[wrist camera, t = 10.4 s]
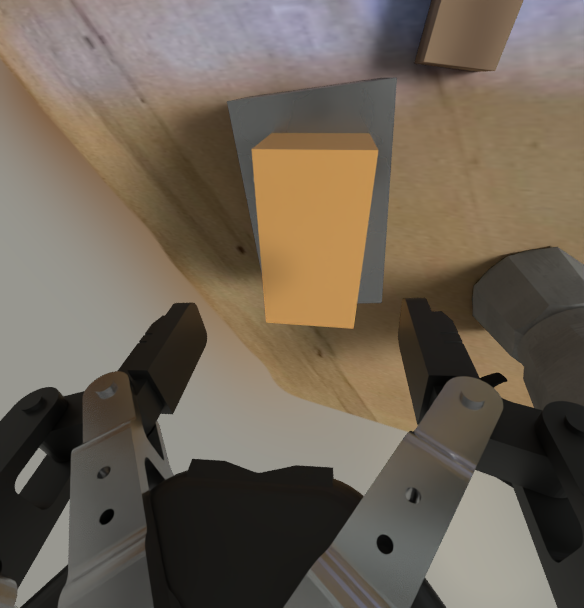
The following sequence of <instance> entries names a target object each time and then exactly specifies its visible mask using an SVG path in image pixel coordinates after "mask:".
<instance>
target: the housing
mask: <svg viewBox="0 0 584 608" xmlns="http://www.w3.org/2000/svg"><path fill="white" fill-rule="evenodd" d="M377 157H378V148H377V147H376V145H375V143H374V141H373V139H372V137H371V135H370V133H271V134H270V135H269V136H267V137H266V138H265V139H264V140H262V141H261V142H260V143H259V144H257V145H256V146H255V147H254V148H252V160H253V172H254V184H255V196H256V208H257V220H258V232H259V244H260V255H261V267H262V279H263V291H264V303H265V315H266V323H281V324H295V325H309V326H323V327H337V328H351V329H354V322H355V315H356V307H357V300H358V293H359V286H360V279H361V272H362V264H363V257H364V250H365V243H366V236H367V229H368V221H369V214H370V207H371V200H372V193H373V186H374V179H375V171H376V164H377Z"/></svg>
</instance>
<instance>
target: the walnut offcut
mask: <svg viewBox="0 0 584 608" xmlns="http://www.w3.org/2000/svg"><path fill="white" fill-rule="evenodd" d="M522 3H523V0H431V4H430V8H429V11H428V15H427V19H426V22H425V26H424V30H423V33H422V37H421V41H420V44H419V48H418V52H417V55H416V59H415V63H414V64H421V65H429V66H437V67H445V68H452V69H460V70H468V71H476V72H481V71H495V70H496V67H497V65H498V62H499V60H500V57H501V55H502V52H503V50H504V47H505V45H506V42H507V40H508V37H509V35H510V33H511V30H512V28H513V25H514V23H515V20H516V18H517V15H518V13H519V10H520V8H521V5H522Z"/></svg>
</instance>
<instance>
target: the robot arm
mask: <svg viewBox="0 0 584 608" xmlns="http://www.w3.org/2000/svg"><path fill="white" fill-rule="evenodd" d="M398 340H399V347H400V352H401V356H402V360H403V365H404V369H405V373H406V378H407V382H408V386H409V391H410V395H411V399H412V403H413V408H414V412H415V416H416V421H417V425H418V426H417V428H416V429H415V430H414V431H413V432H412V431H409V432H408V433H407V434H406V435H405V437H404V438H403V440H402V441H401V443H400V444H399V445H398V447H397V448H396V450H395V451H394V453H393V454H392V456H391V457H390V459H389V460H388V462H387V463H386V465H385V466H384V467H383V469H382V470H381V472H380V473H379V475H378V476H377V478H376V479H375V481H374V483H373V484H372V485H371V487H370V488H369V490H368V491H367V493H366V494H365V496H363V495H362V494H360V493H359V492H358V491H356V490H355V489H354V488H352V487H351V486H349V485H347V484H345V483H343V482H341V481H338V480H336V479H334V478H333V468H329V467H313V466H291V467H287V468H282V469H277V470H272V471H267V472H263V473H256V472H253V471H250V470H247V469H245V468H242V467H240V466H237V465H234V464H232V463H229V462H226V461H216V460H201V459H192V461H191V464H190V466H189V469H188V471H185V472H182V473H178V474H176V475H173V473H172V470H171V468H170V465H169V461H168V457H167V453H166V449H165V445H164V441H163V437H162V433H161V429H160V425H159V423H158V421H157V419H158V417H159V415H160V414H173V413H174V411H175V409H176V406H177V405H178V403H179V400H180V398H181V396H182V394H183V392H184V390H185V388H186V386H187V384H188V382H189V379H190V377H191V375H192V373H193V371H194V369H195V367H196V365H197V362H198V361H199V359H200V357H201V354H202V352H203V350H204V348H205V346H206V343H207V333H206V329H205V327H204V324H203V321H202V318H201V316H200V313H199V311H198V308H197V306H196V304H195V303H175V304H173V305H172V307H171V308H170V310H169V311H168V312H167V314H166V315H165V316H162V317H161V318H159V319H158V320H157V321H155V322H154V323H153V324H152V325H151V326H150V328H149V329H148V330H147V332H146V333H145V335H144V336H143V337H142V338H141V340H140V341H139V342H140V343H138V344H137V345H136V347H135V348H134V349H133V351H132V352H131V353H130V355H129V356H128V357H127V359H126V360H125V362H124V363H123V364H122V366H121V367H120V368H119V370H118V371H115V372H110V373H107V374H105V375H103V376H101V377H99V378H97V379H96V380H94V382H92V383H91V384H90V385H89V386H88V387H87V389H86V390H85V391H84V392H80V393H76V394H72V395H68V396H62V394H61V393H60V392H59V391H58V390H57V389H56V388H53V387H46V388H41V389H39V390H36V391H34V392H32V393H30V394H28V395H27V396H25V397H24V398H22V399H21V400H20V401H18V403H17V404H16V405H14V406H13V408H12V409H11V410H10V411H9V412H8V413H7V414H6V416H4V418H3V419H2V420H1V421H0V608H18V607H17V606H14V605H15V602H16V598H17V590H18V587H19V586H20V584H21V582H22V581H23V579H24V577H25V575H26V574H27V572H28V570H29V568H30V567H31V565H32V563H33V561H34V560H35V558H36V556H37V555H38V553H39V551H40V549H41V548H42V546H43V544H44V542H45V541H46V539H47V537H48V535H49V534H50V532H51V530H52V528H53V527H54V525H55V523H56V521H57V520H58V518H59V516H60V515H61V513H62V511H63V509H64V508H65V506H66V504H67V502H68V501H69V499H70V518H69V520H70V521H69V558H68V559H69V560H68V565H67V566H66V567H65V568H63V569H62V570H61V571H60V572H59V573H58V574H57V575H56V576H55V577H54V578H52V579H51V580H50V581H49V582H48V583H47V584H46V585H45V586H44V587H42V588H41V589H40V590H39V591H38V592H37V593H36V594H35V595H34V596H33V597H31V598H30V599H29V600H28V601H27V602H26V603H25V604H24V605H23V606H21V607H20V608H446V606H445V605H444V604H443V602H442V601H441V599H440V598H439V597H438V595H437V594H436V592H435V591H434V590H433V588H432V587H431V585H430V584H429V583H428V581H427V580H426V578H425V575H426V573H427V571H428V569H429V567H430V565H431V563H432V560H433V558H434V556H435V554H436V552H437V550H438V548H439V546H440V543H441V541H442V539H443V537H444V535H445V533H446V531H447V529H448V527H449V524H450V522H451V520H452V518H453V516H454V514H455V512H456V509H457V507H458V505H459V503H460V501H461V499H462V497H463V495H464V492H465V490H466V488H467V486H468V483H469V482H470V480H471V477H472V475H473V473H474V470H477V471H480V472H483V473H486V474H489V475H491V476H494V477H497V478H500V479H502V480H505V481H508V482H511V483H512V485H513V488H514V491H515V493H516V496H517V499H518V501H519V504H520V507H521V509H522V512H523V515H524V518H525V520H526V523H527V526H528V529H529V531H530V534H531V537H532V540H533V542H534V545H535V547H536V550H537V553H538V556H539V559H540V561H541V564H542V567H543V569H544V572H545V575H546V578H547V580H548V583H549V585H550V588H551V591H552V594H553V597H554V599H555V602H556V605H557V607H558V608H584V406H582V405H579V404H576V403H572V402H567V401H555V402H551V403H549V404H547V405H546V406H545V407H544V409H543V410H539V409H535V408H532V407H528V406H524V405H521V404H517V403H513V402H510V401H508V400H505V399H503V398H501V396H500V395H499V393H498V392H497V391H496V390H495V389H494V388H493V387H492V386H490V385H489V384H487V383H486V382H484V381H482V380H480V378H479V376H478V374H477V371H476V369H475V367H474V365H473V363H472V361H471V359H470V357H469V355H468V352H467V350H466V348H465V346H464V344H462V340H461V338H460V335H459V334H458V331H457V329H456V327H455V325H454V323H453V321H452V320H451V319H450V318H449V317H448V316H446V315H445V314H444V313H443V312H442V311H438V312H432V311H431V309H430V306H429V304H428V302H427V299H426V298H403V300H402V306H401V314H400V322H399V330H398ZM38 448H40V449H42V450H43V451H44V452H45V453H46V454H47V455H46V457H45V458H44V459H43V461H42V462H41V464H40V465H39V467H38V468H37V469H36V471H35V472H34V474H33V475H32V477H31V478H30V479H29V481H28V482H27V484H26V485H25V486H24V488H23V489H22V491H21V492H20V494H17V493H16V491H15V481H16V479H17V477H18V475H19V474H20V472H21V471H22V469H23V468H24V467H25V465H26V464H27V463H28V461H29V460H30V458H31V457H32V456H33V455H34V453H35V451H36V450H37V449H38Z"/></svg>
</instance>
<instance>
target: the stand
mask: <svg viewBox="0 0 584 608" xmlns="http://www.w3.org/2000/svg"><path fill="white" fill-rule="evenodd" d="M396 83H397V78H378V79H371V80H364V81H357V82H350V83H343V84H336V85H329V86H322V87H314V88H307V89H300V90H293V91H286V92H279V93H272V94H265V95H258V96H251V97H246V98H241V99H237V100H232V101H227V104H228V109H229V114H230V119H231V124H232V129H233V134H234V139H235V144H236V149H237V154H238V159H239V164H240V169H241V174H242V179H243V184H244V188H245V193H246V198H247V203H248V208H249V213H250V218H251V223H252V228H253V233H254V238H255V243H256V248H257V253H258V258H259V263H260V268H261V273H262V267H261V255H260V244H259V232H258V220H257V208H256V196H255V184H254V172H253V160H252V148H254V147H255V146H256V145H257V144H259V143H260V142H261V141H262V140H264V139H265V138H266V137H267V136H269V135H270V134H271V133H370V135H371V137H372V139H373V141H374V143H375V145H376V147H377V148H378V157H377V164H376V171H375V179H374V186H373V193H372V200H371V207H370V214H369V221H368V229H367V236H366V243H365V250H364V257H363V264H362V272H361V279H360V286H359V293H358V300H357V303H382V291H383V276H384V261H385V247H386V232H387V217H388V202H389V187H390V172H391V157H392V142H393V127H394V112H395V98H396Z"/></svg>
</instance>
